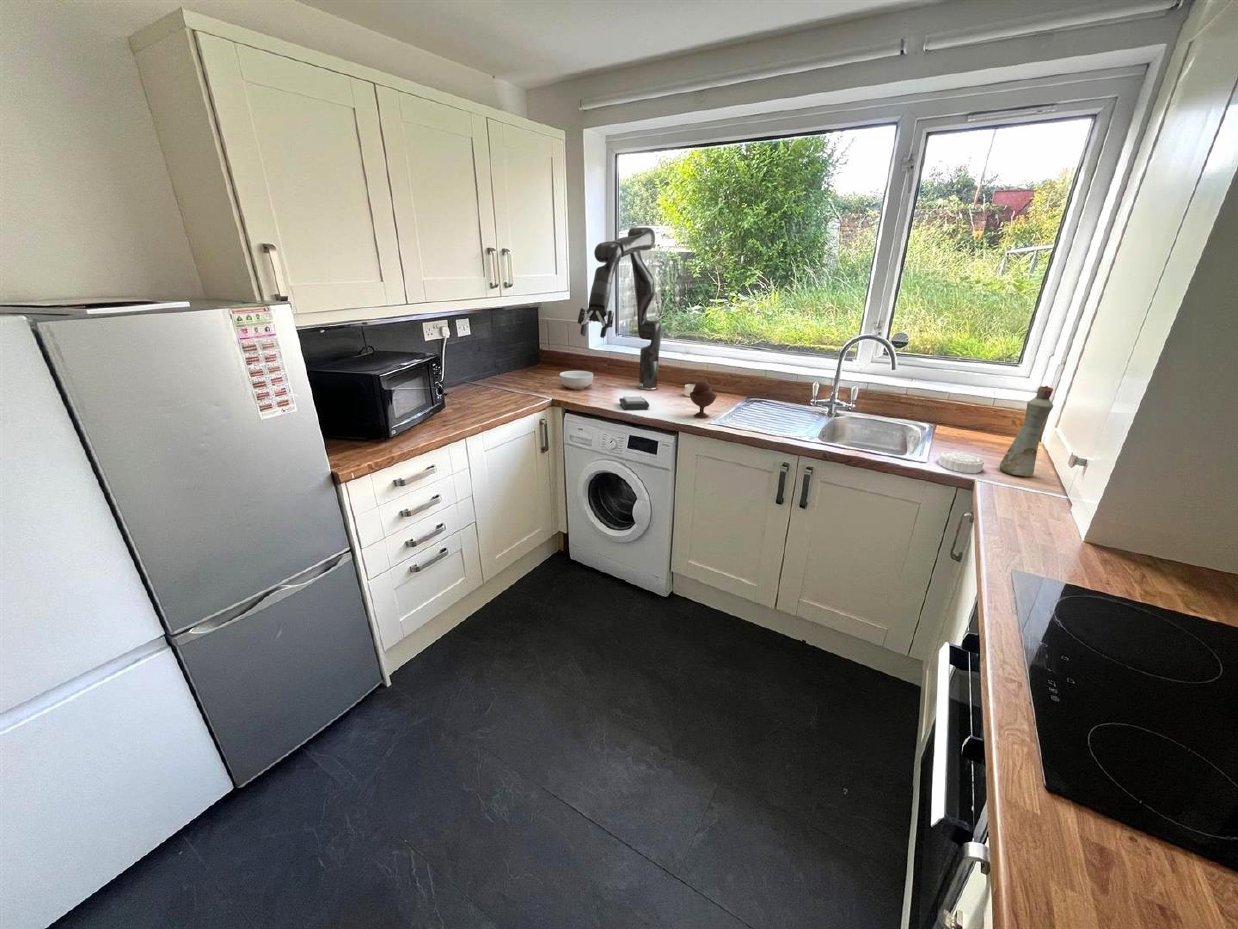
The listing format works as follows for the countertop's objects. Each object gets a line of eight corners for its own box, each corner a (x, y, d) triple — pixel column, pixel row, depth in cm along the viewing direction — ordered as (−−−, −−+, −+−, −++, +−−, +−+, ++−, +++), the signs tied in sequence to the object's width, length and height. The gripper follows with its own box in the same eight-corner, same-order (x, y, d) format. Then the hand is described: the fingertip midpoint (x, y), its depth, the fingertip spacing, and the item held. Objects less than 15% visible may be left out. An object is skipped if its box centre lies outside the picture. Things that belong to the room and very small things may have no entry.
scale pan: (623, 400, 220) (623, 396, 220) (640, 399, 222) (641, 396, 221) (626, 404, 213) (627, 401, 212) (645, 404, 214) (645, 400, 214)
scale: (619, 403, 222) (619, 398, 221) (643, 403, 224) (643, 397, 223) (624, 410, 212) (624, 404, 211) (648, 409, 214) (649, 404, 213)
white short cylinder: (682, 394, 243) (683, 384, 241) (694, 394, 244) (695, 384, 242) (686, 397, 237) (687, 387, 235) (698, 397, 238) (699, 386, 236)
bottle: (1003, 475, 155) (1033, 386, 144) (994, 465, 163) (1022, 381, 152) (1036, 480, 152) (1070, 390, 142) (1026, 470, 160) (1057, 384, 150)
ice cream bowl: (716, 420, 202) (720, 383, 197) (689, 419, 202) (692, 382, 197) (712, 413, 212) (716, 378, 207) (686, 412, 212) (689, 377, 207)
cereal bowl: (564, 383, 258) (564, 369, 255) (595, 385, 256) (596, 371, 253) (555, 390, 242) (555, 375, 239) (589, 392, 240) (589, 378, 237)
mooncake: (985, 476, 154) (988, 465, 152) (940, 469, 158) (943, 458, 157) (977, 463, 164) (980, 453, 163) (935, 457, 168) (938, 447, 167)
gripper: (620, 299, 195) (612, 340, 195) (588, 297, 200) (581, 337, 201) (612, 292, 188) (604, 335, 188) (579, 290, 193) (572, 332, 194)
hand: (592, 336), depth 195 cm, fingers open, 8 cm apart
